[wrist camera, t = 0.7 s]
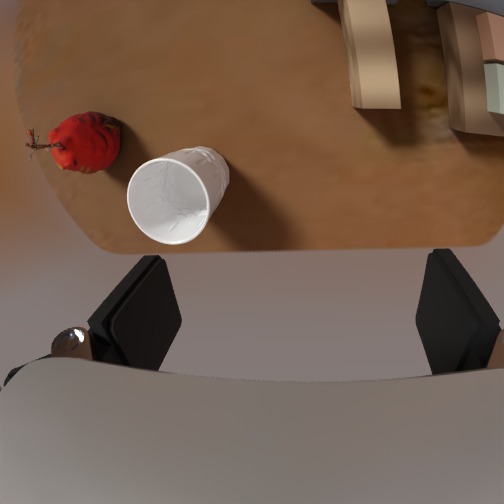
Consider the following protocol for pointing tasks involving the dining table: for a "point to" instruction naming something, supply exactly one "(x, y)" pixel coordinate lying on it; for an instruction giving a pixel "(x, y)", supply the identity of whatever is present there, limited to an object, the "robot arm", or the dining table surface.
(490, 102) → the tile sage
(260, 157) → the dining table surface
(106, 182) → the dining table surface
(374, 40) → the scraper
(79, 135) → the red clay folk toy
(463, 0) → the tray
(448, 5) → the wooden block
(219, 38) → the dining table surface
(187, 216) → the white cup
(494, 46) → the tile terracotta
